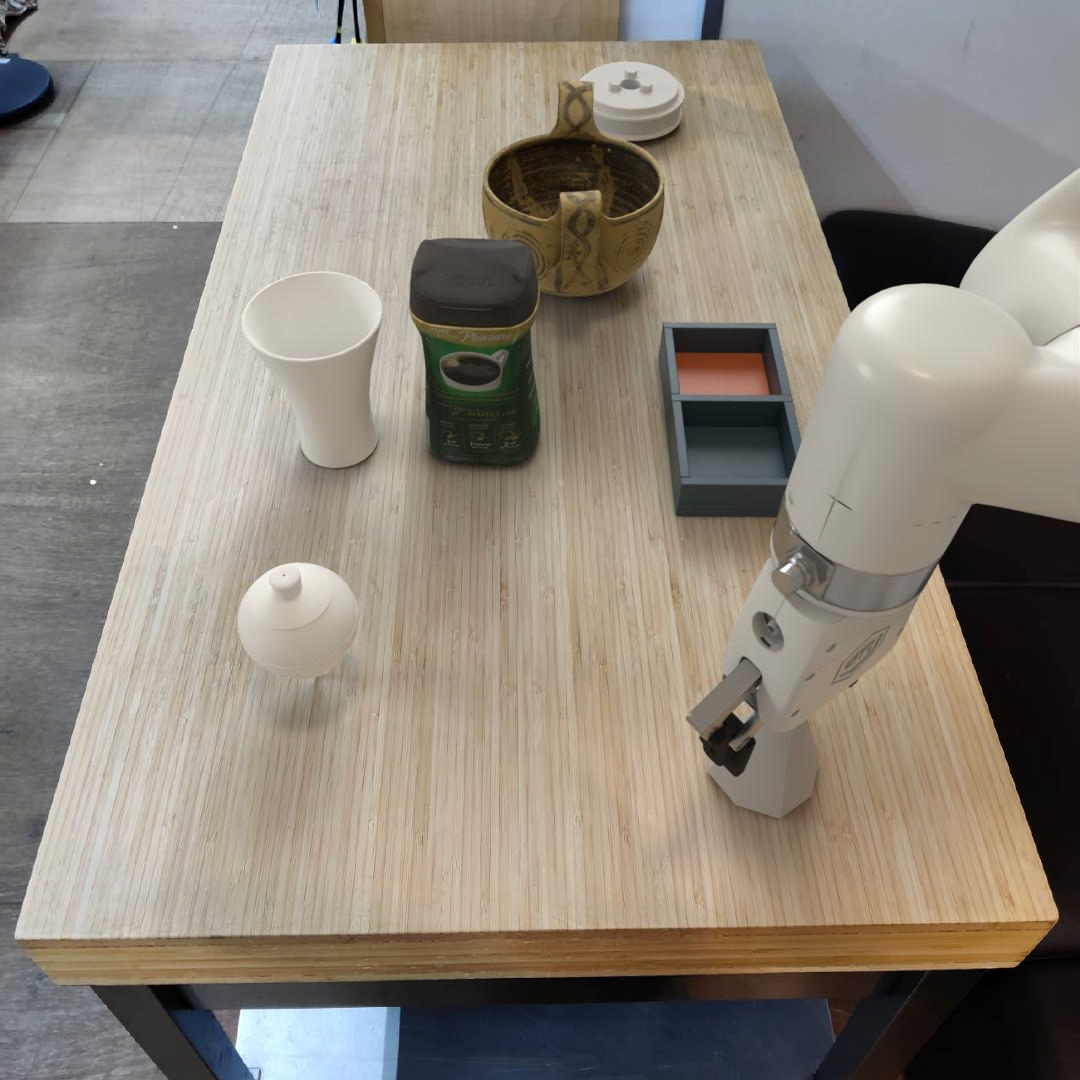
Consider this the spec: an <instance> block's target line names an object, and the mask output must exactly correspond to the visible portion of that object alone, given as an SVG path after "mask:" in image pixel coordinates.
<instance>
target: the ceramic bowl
mask: <svg viewBox="0 0 1080 1080" xmlns="http://www.w3.org/2000/svg"><path fill="white" fill-rule="evenodd" d="M557 85H558V87H557V88H558V98H557V114H556V115H557V116H556V122H555V125H554V126H553V128H552V129H551V131H550V132H549V133H548V132H547V133H545V134H540V135H534V136H530V137H526V138H523V139H519V140H518V141H517V140H516V141H515V142H513V143H510V144H507V146H504V147H503V148H501V149H500V150H499V151H497V152H496V153H494V155H493V156H492V157H491V158H490V160H489V161H488V162H487V164H486V165H485V167H484V169H483V174H482V188H481V211H482V217H483V222H484V227H485V231H486V236H487V237H488V238H487V239H495V240H509V241H515V242H519V243H523V244H526V245H528V246H530V248H531V250H532V253H533V257H534V261H535V268H536V272H537V278H538V283H539V291H540V292H541V293H545V294H547V295H551V296H557V297H562V298H563V297H564V298H583V297H584V298H585V297H593V296H597V295H601V294H605V293H607V292H610V291H612V290H615V289H616V288H618V287H621V286H622V285H623V284H625V283H626V282H627V281H628V280H630V279H631V278H633V276H634V275H635V274H636V273H638V272H639V270H640V269H641V268H642V267H643V266H644V264H645V262H646V261H647V260H648V258H649V257H650V255H651V253H652V252H653V250H654V247H655V246H656V243H657V240H658V236H659V233H660V231H661V229H662V222H663V219H664V211H665V210H664V209H665V183H666V179H665V175H664V172H663V169H662V167H661V165H660V163H659V162H658V160H657V159H656V158H655V157H654V156H653V155H652V154H651V153H650V152H648V151H647V150H645V149H644V148H643V147H640V146H639V145H637V144H635V143H633V142H631V141H626V140H623V139H620V138H616V137H611V136H608V135H606V134H604V133H602V132H601V131H599V130H598V128H597V127H596V125H595V121H594V114H593V100H594V82H590V81H579V80H572V79H568V80H560V81H558V82H557Z"/></svg>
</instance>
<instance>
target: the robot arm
mask: <svg viewBox="0 0 1080 1080" xmlns="http://www.w3.org/2000/svg"><path fill="white" fill-rule="evenodd" d="M810 411H811V412H810V415H809V418H808V421H807V423H806V427H805V429H804V433H803V435H802V438H801V440H802V442H801V445H800V448H799V451H798V454H797V457H796V460H795V463H794V466H793V469H792V472H791V475H790V478H789V481H788V484H787V487H786V489H785V492H784V495H783V498H782V501H781V504H780V507H779V510H778V513H777V516H776V517H775V520H774V522H773V526H772V529H771V532H770V536H769V537H770V538H769V549H770V550H769V551H770V556H769V557H768V558H767V560H766V561H765V563H764V565H763V567H762V568H761V571H760V572H759V574H758V576H757V578H756V579H755V582H754V583H753V585H752V587H751V589H750V592H749V593H748V595H747V597H746V599H745V602H744V604H743V605H742V608H741V610H740V612H739V615H738V617H737V619H736V621H735V624H734V626H733V629H732V630H731V634H730V636H729V639H728V642H727V645H726V647H725V650H724V654H723V658H722V661H721V669H720V675H721V681H720V682H719V683H718V684H717V685H716V686H715V687H714V688H713V689H712V690H711V691H710V692H709V693H708V694H707V695H706V696H705V697H704V698H703V699H702V700H701V701H700V702H699V703H698V704H697V705H696V706H694V708H693V709H691V711H690V712H689V713H688V714H687V715H686V717H685V721H686V722H687V723H688V724H689V725H690V726H691V728H693V729H694V731H696V732H697V734H698V735H699V736H698V738H699V740H700V743H702V750H703V751H704V754H705V755H706V756H707V758H709V760H710V759H711V760H712V761H713V762H714V763H715V764H716V765H717V766H722V765H723V766H724V767H725V768H726V769H727V770H728V771H729V772H730V773H731V774H732V775H733V776H734V777H738V776H739V775H741V774H742V773H743V772H744V770H745V768H746V766H747V763H748V761H749V759H750V756H751V754H752V752H753V749H754V747H755V745H756V740H755V738H754V737H753V736H754V735H755V733H756V732H757V731H758V730H759V729H760V728H761V726H762V725H763V724H765V725H766V726H767V727H769V728H770V729H771V730H772V731H773V732H787V731H790V730H792V729H794V728H795V727H797V726H798V725H800V724H801V723H803V722H804V721H805V720H807V719H808V720H809V718H810V717H812V716H814V714H816V713H817V712H818V711H820V710H821V709H822V708H824V707H825V706H826V705H828V704H829V703H830V702H832V700H834V699H835V698H836V697H838V696H839V695H840V694H841V693H843V692H844V691H845V690H846V689H848V688H852V687H853V686H855V685H856V684H857V683H858V681H859V679H860V678H861V677H862V676H864V675H866V673H868V672H869V671H870V670H871V669H873V668H874V667H875V666H877V664H879V663H880V662H881V661H882V660H883V659H884V658H885V657H886V656H887V655H888V654H889V653H890V652H891V651H892V650H893V648H894V647H895V646H896V645H897V643H898V641H899V640H900V637H901V635H902V634H903V631H904V629H905V627H906V625H907V623H908V621H909V619H910V617H911V616H912V615H911V614H912V612H913V610H914V608H915V606H916V604H917V602H918V600H919V597H920V596H921V595H922V593H923V591H924V589H925V587H926V586H927V585H928V583H929V581H930V579H931V577H932V576H933V574H934V572H935V570H936V568H937V567H938V565H939V563H940V561H941V560H942V558H943V556H944V555H945V553H946V551H947V549H948V547H949V545H950V544H951V542H952V540H953V539H954V537H955V535H956V533H957V532H958V530H959V528H960V526H961V525H962V523H963V521H964V520H965V517H966V516H967V514H968V512H969V511H970V509H971V507H972V506H973V505H975V504H980V505H985V506H991V507H997V508H1002V509H1009V510H1011V511H1012V510H1013V511H1018V512H1023V513H1028V514H1033V515H1038V516H1043V517H1048V518H1051V519H1056V520H1062V521H1067V522H1073V523H1077V524H1080V167H1078V168H1077V169H1075V170H1074V171H1073V172H1072V173H1070V174H1069V175H1067V176H1066V177H1065V178H1064V179H1062V180H1061V181H1059V182H1058V183H1057V184H1055V185H1054V186H1053V187H1051V188H1050V189H1049V190H1047V191H1045V192H1044V193H1043V194H1042V195H1041V196H1039V197H1038V198H1037V199H1036V200H1034V201H1033V202H1031V204H1029V205H1028V206H1026V207H1025V208H1024V209H1023V210H1021V212H1020V213H1018V214H1017V215H1016V216H1015V217H1014V218H1013V219H1012V220H1011V221H1010V222H1008V223H1007V224H1006V225H1005V226H1004V227H1002V228H1001V229H1000V231H998V232H997V233H996V234H995V235H993V237H992V238H991V239H990V240H989V241H988V242H987V244H986V245H985V246H984V247H983V248H982V250H980V252H979V253H978V254H977V256H976V257H975V258H974V259H973V260H972V262H971V264H970V265H969V267H968V269H967V270H966V272H965V273H964V276H963V278H962V280H961V282H960V284H959V287H954V286H951V285H945V284H939V283H910V284H909V283H908V284H901V285H896V286H891V287H888V288H886V289H882V290H880V291H878V292H876V293H874V294H873V295H870V296H868V297H867V298H866V299H864V300H863V301H861V302H860V303H859V304H858V305H857V306H856V307H855V308H854V309H853V310H852V311H851V312H850V313H849V314H848V316H847V317H846V318H845V320H844V322H843V323H842V324H841V326H840V328H839V330H838V332H837V336H836V338H835V340H834V343H833V345H832V347H831V351H830V354H829V357H828V359H827V363H826V366H825V369H824V372H823V374H822V378H821V382H820V384H819V387H818V391H817V393H816V397H815V400H814V403H813V406H812V408H811V410H810ZM743 702H745V703H746V704H747V705H748V707H750V708H751V710H754V711H755V712H754V713H753V714H752V715H751V716H750V718H749V719H748V720H747V721H746V722H745V723H743V722H742V721H741V720H740V719H739V718H740V717H738V716H737V715H736V714H735V713H734V711H735V710H736V709H737V708H739V706H740V705H741V704H742V703H743Z"/></svg>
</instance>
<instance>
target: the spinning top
mask: <svg viewBox="0 0 1080 1080" xmlns="http://www.w3.org/2000/svg"><path fill="white" fill-rule="evenodd" d="M236 621H237V631H238V637H239V640H240V643H241V645H242V647H243V648H244V650H245V652H246V653H247V655H248V656H249V657H250V658H251V660H252V661H254V662H255V663H256V664H257V665H258V666H259V667H261V668H262V669H264V670H266V671H267V672H269V673H272V674H274V675H277V676H280V677H284V678H288V679H292V680H309V679H314V678H320V677H321V676H323V675H324V674H327V673H328V672H330V671H331V670H333V669H334V668H335V667H336V666H337V665H338V664H339V663H340V662H341V661H342V660H343V659H344V658H345V656H346V654H347V653H348V652H349V650H350V648H351V647H352V645H353V643H354V641H355V638H356V635H357V632H358V628H359V607H358V603H357V599H356V597H355V594H354V592H353V591H352V589H351V587H350V586H349V584H348V583H347V582H346V581H345V579H343V578H342V577H341V576H339V574H337V573H335V572H334V571H332V570H330V569H329V568H328V567H327V568H326V567H325V566H322V565H319V564H314V563H311V562H310V563H309V562H289V563H284V564H281V565H277V566H275V567H273V568H271V569H269V570H268V571H266V572H264V574H262V575H260V577H258V578H257V579H256V580H254V582H253V583H252V584H251V585H250V587H249V588H248V589H247V590H246V592H245V594H244V596H243V597H242V600H241V602H240V605H239V608H238V613H237V620H236Z"/></svg>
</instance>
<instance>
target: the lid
mask: <svg viewBox="0 0 1080 1080" xmlns="http://www.w3.org/2000/svg"><path fill="white" fill-rule="evenodd" d="M578 81H590V82H594V100H593V114H594V121H595V125H596V127H597V128H598V130H599V131H601V132H602V133H604V134H606V135H608V136H611V137H616V138H620V139H623V140H626V141H628V142H640V141H648V140H652V139H658V138H659V137H663V136H666V135H667V134H670V133H671V132H673V131H674V130H675V129H676V128H677V127H678V126H679V124H680V123H681V122H682V119H683V109H682V105H683V104H684V101H685V94H686V93H685V88H684V86H683V85H682V83H681V82H680V81H679V80H678V79H677V78H676V77H675V76H674V75H672V73H670V72H669V71H667V70H665V69H664V68H661V67H659V66H657V65H654V64H650V63H645V62H639V61H617V62H609V63H605V64H602V65H599V66H597V67H594V68H593V69H591V70H590V71H588V72H587V73H586V74H584V75H583V76H582V77H581V78H580V79H579V80H578Z"/></svg>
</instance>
